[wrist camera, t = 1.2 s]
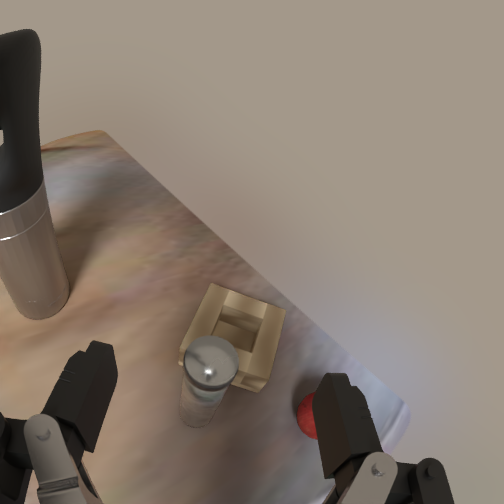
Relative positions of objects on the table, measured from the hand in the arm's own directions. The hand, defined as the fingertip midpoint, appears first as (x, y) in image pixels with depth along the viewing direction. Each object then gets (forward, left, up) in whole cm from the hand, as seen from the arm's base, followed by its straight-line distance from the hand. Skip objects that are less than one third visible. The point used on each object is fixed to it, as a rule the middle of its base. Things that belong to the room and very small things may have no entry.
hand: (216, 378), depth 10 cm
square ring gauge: (0, +15, -23) cm, 27 cm away
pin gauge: (-1, +5, -23) cm, 23 cm away
